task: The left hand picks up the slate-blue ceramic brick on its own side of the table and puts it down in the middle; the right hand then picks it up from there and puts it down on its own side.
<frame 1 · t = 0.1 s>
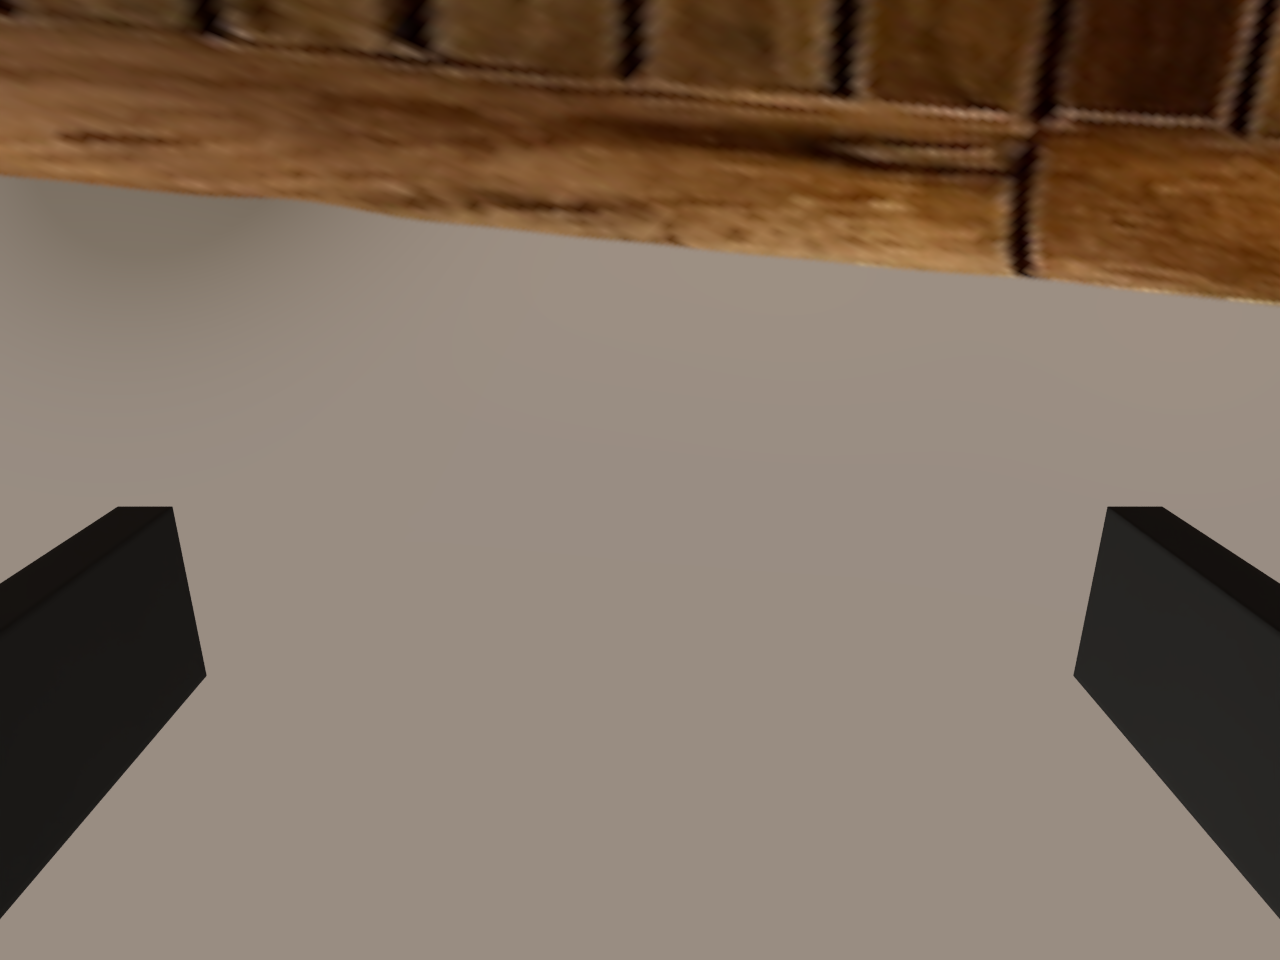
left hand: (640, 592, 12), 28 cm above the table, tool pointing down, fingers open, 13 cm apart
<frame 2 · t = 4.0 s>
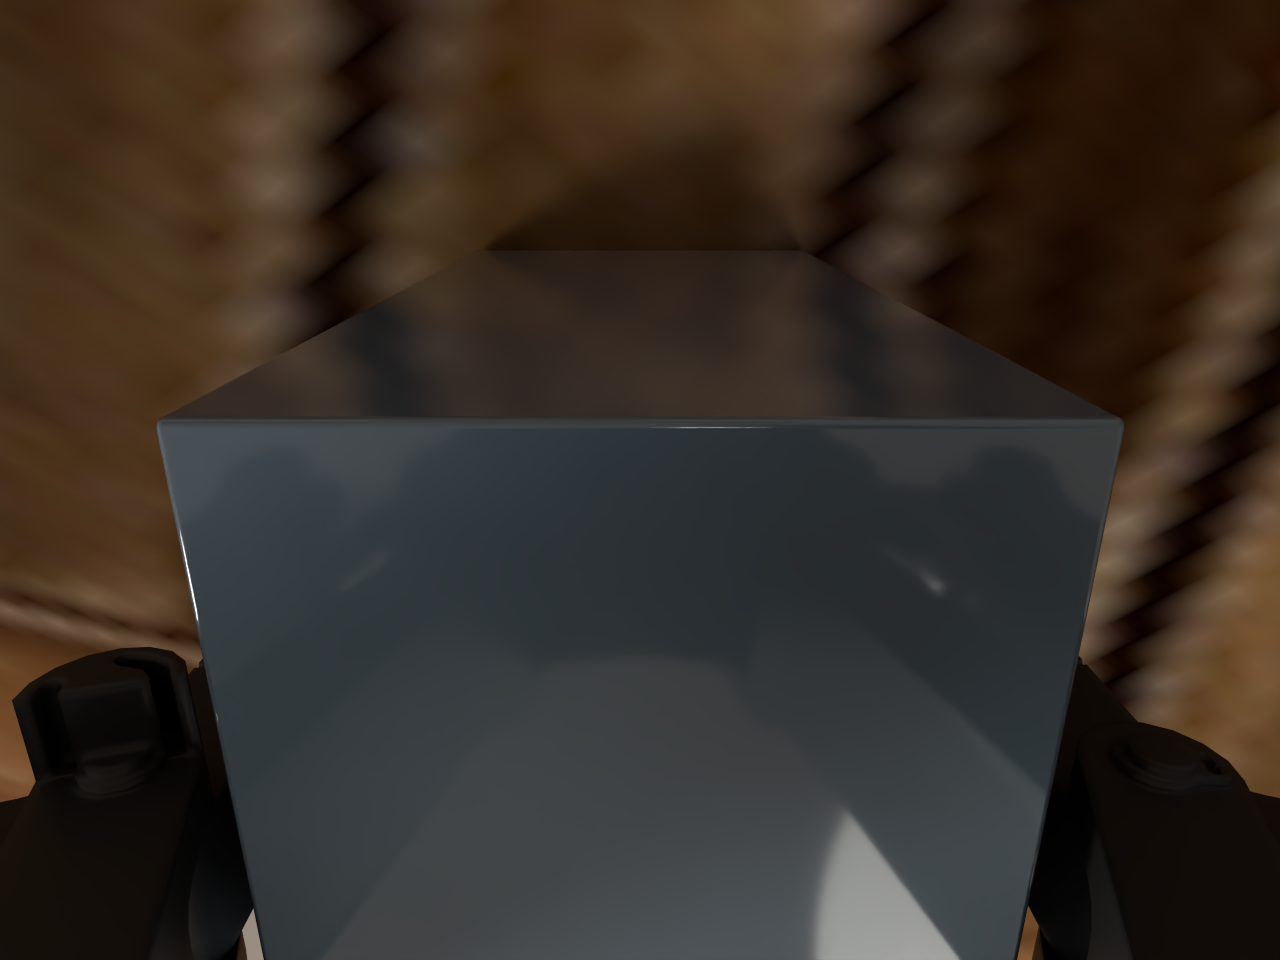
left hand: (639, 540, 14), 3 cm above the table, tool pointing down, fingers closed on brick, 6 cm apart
brick: (640, 481, 17), on the table, touching left hand
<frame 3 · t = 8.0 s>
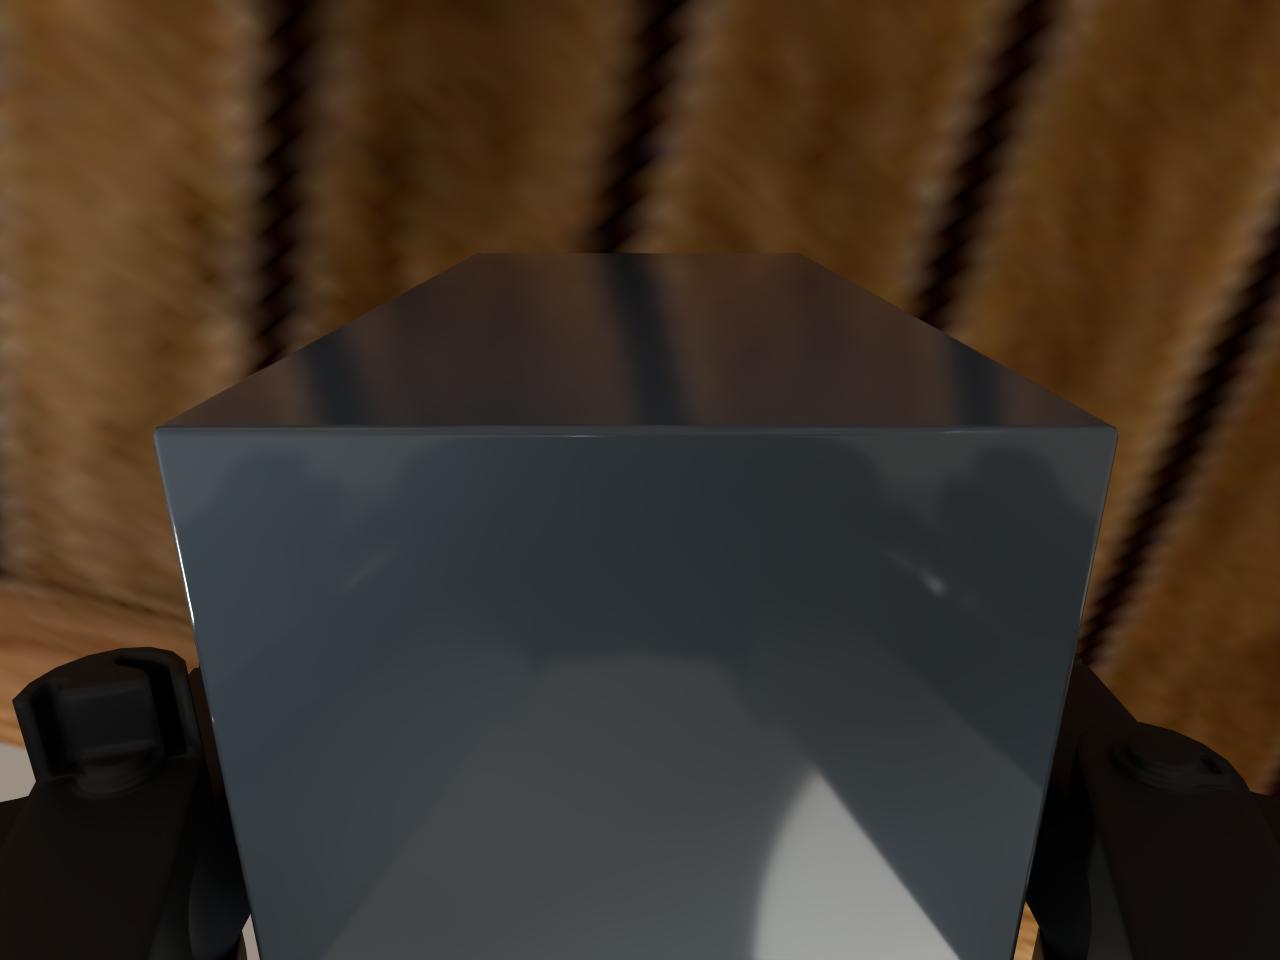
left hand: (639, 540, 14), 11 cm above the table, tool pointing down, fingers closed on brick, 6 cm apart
brick: (638, 484, 17), point 8 cm above the table, touching left hand
when the left hand's fingers open (4 cm above the table, at t = 12.1 s): brick drops 1 cm, on the table.
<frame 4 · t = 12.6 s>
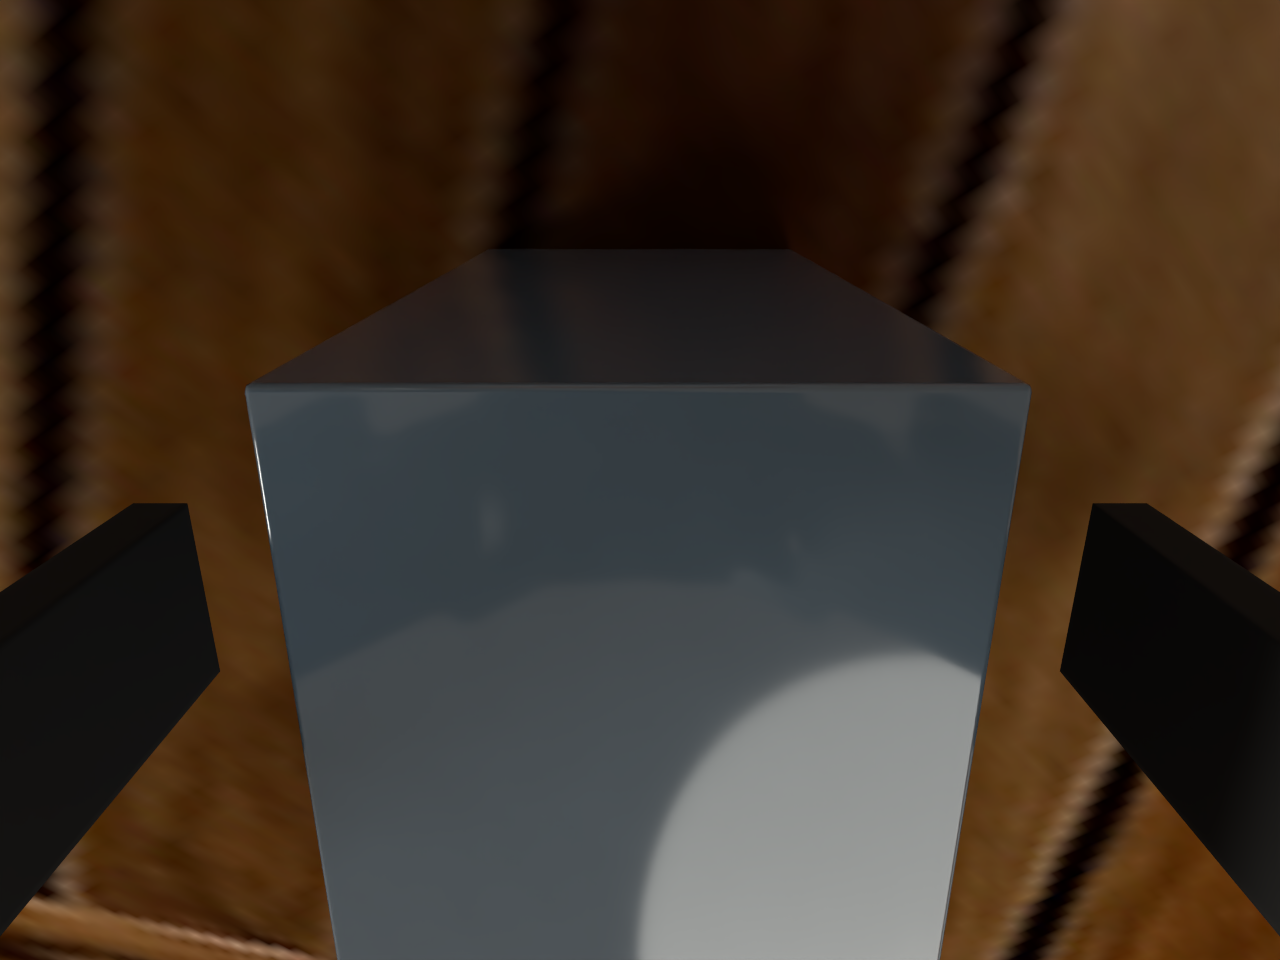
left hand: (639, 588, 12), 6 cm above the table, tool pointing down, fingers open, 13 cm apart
brick: (639, 465, 18), on the table
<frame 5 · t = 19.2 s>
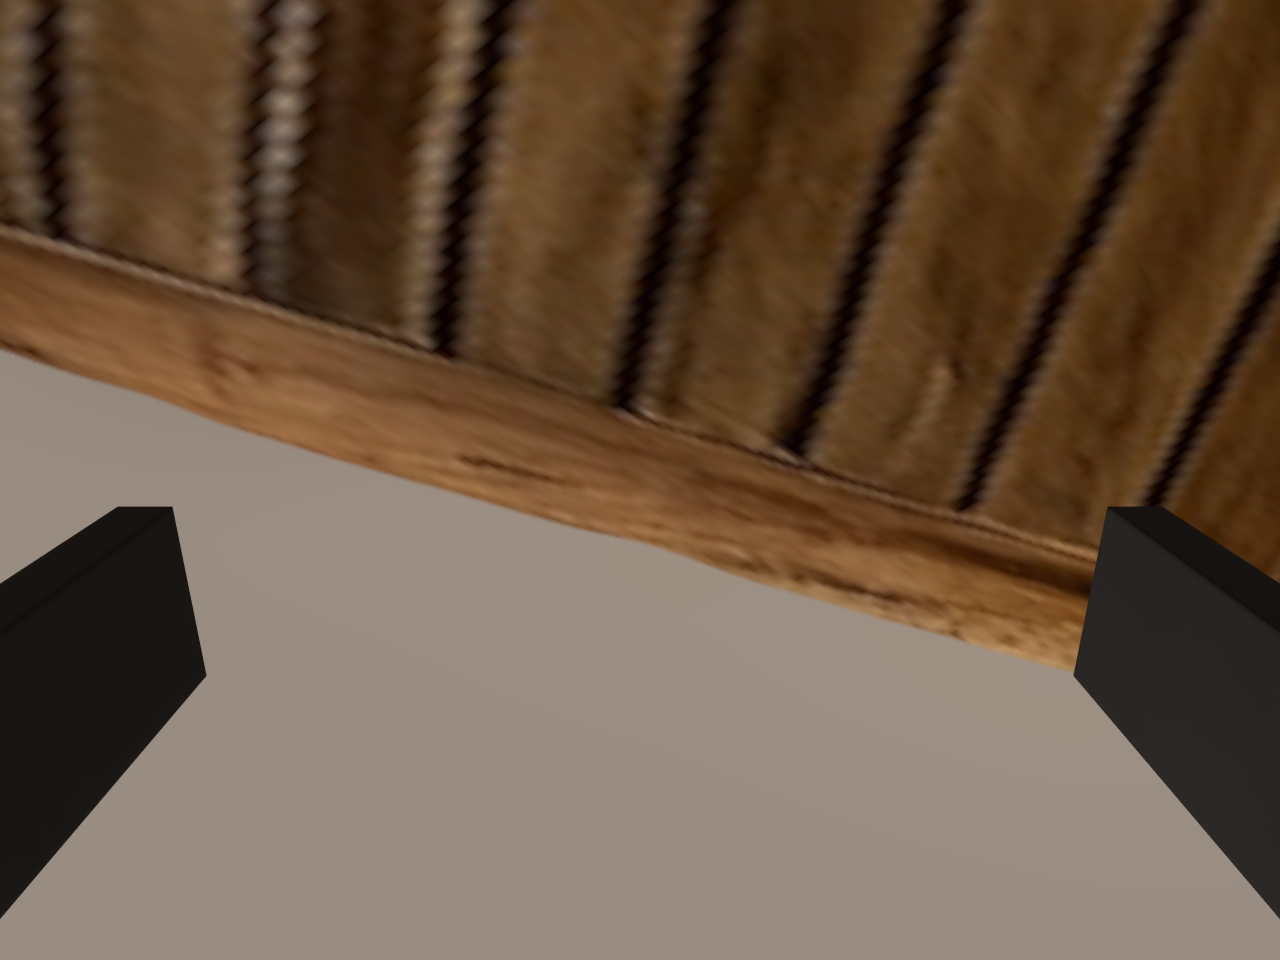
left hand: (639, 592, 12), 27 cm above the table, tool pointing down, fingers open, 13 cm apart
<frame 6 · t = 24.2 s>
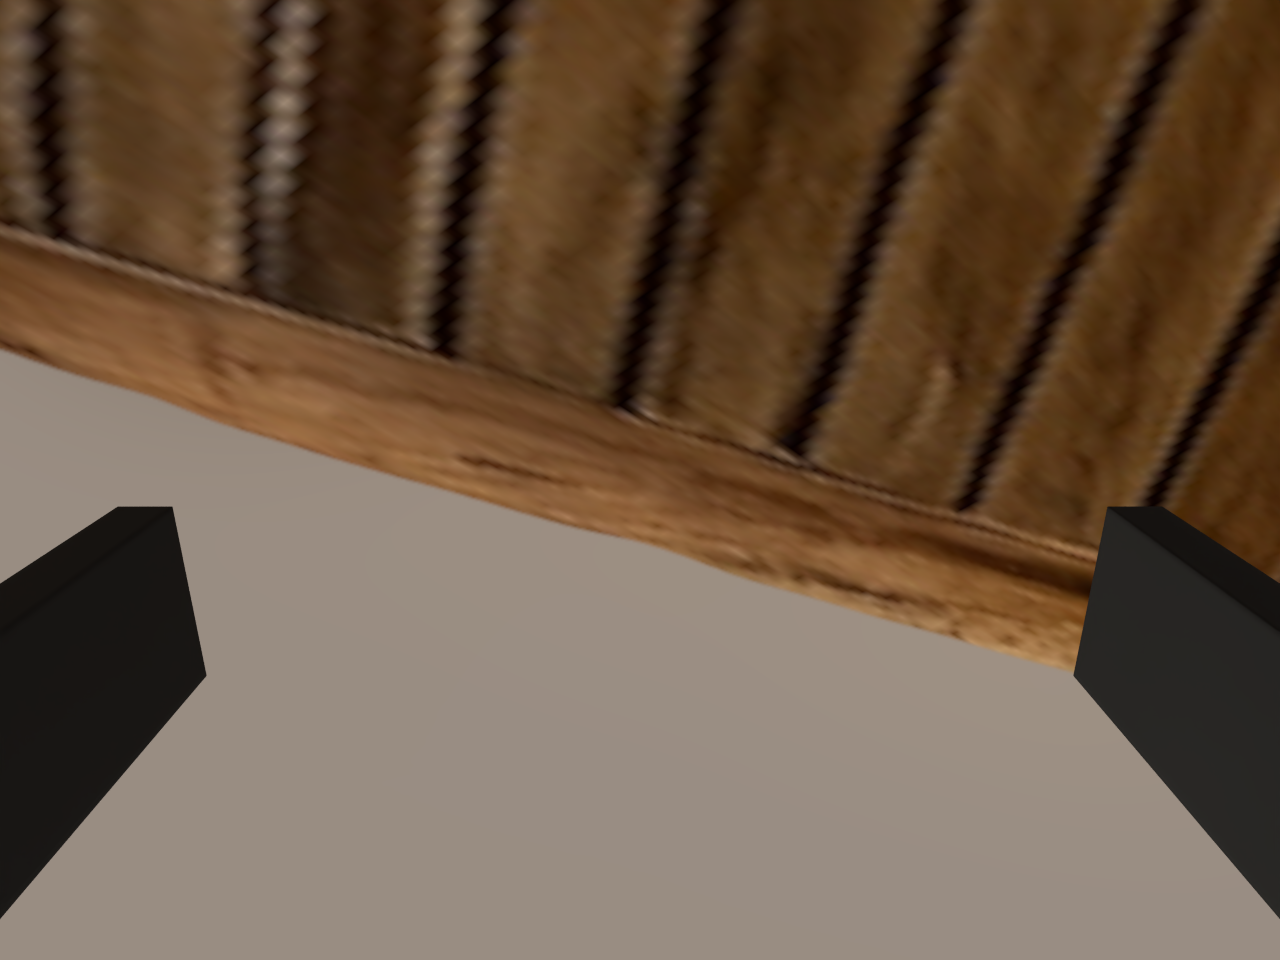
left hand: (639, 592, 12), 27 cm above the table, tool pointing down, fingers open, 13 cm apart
when the right hand's fingers open (4 cm above the table, at t = 29.6 s): brick drops 1 cm, on the table.
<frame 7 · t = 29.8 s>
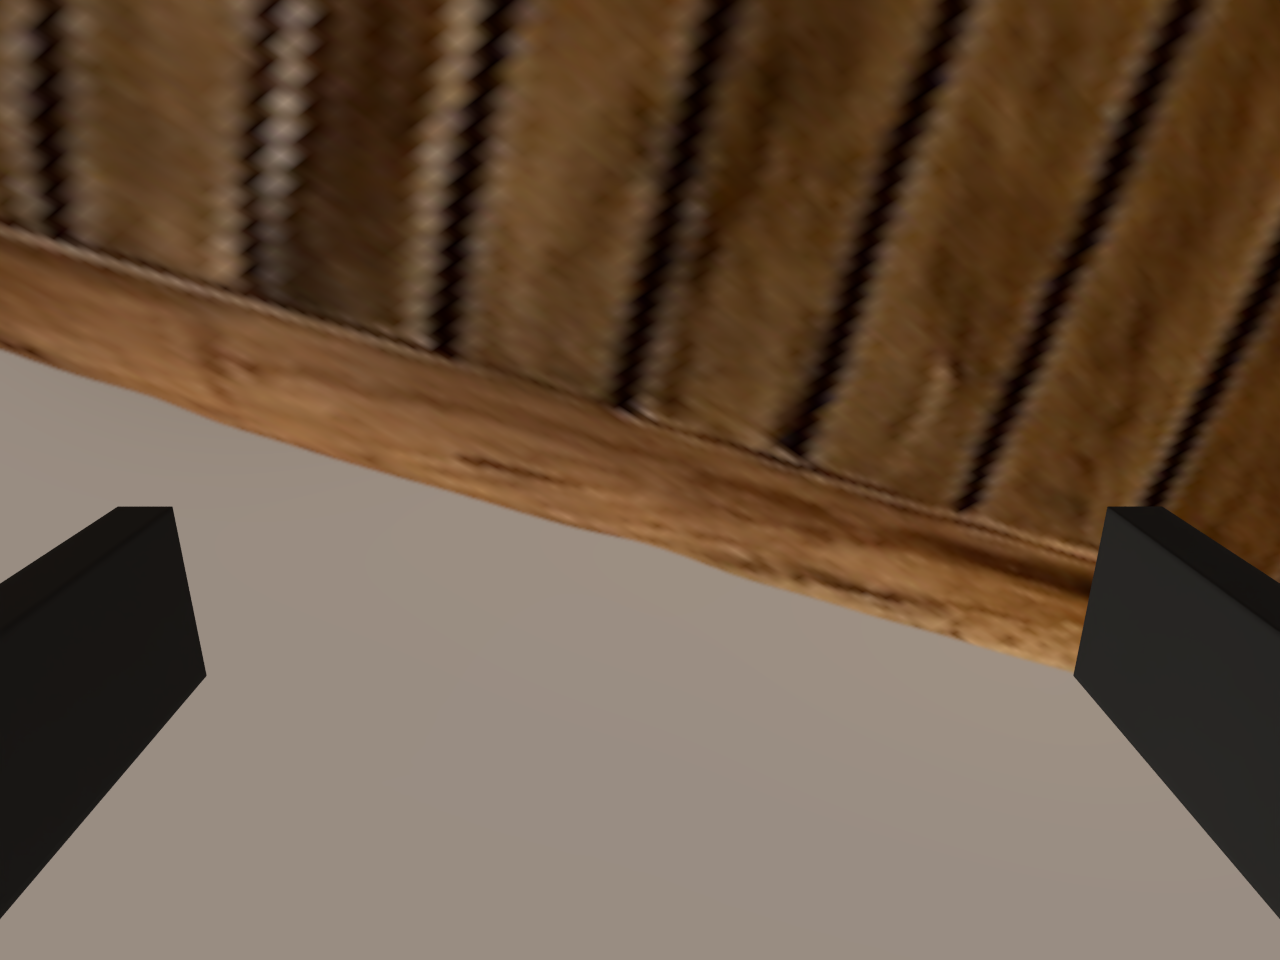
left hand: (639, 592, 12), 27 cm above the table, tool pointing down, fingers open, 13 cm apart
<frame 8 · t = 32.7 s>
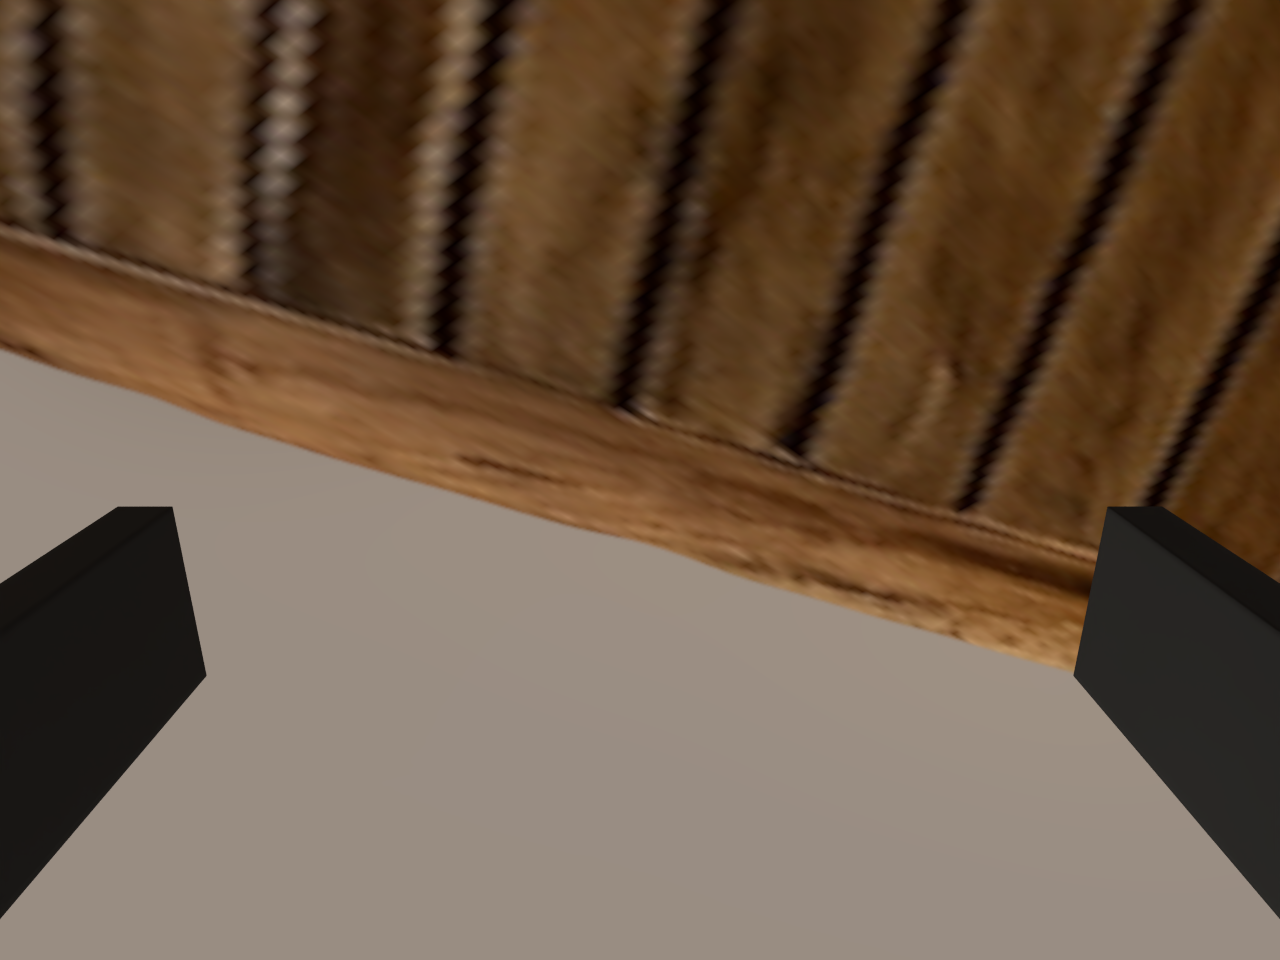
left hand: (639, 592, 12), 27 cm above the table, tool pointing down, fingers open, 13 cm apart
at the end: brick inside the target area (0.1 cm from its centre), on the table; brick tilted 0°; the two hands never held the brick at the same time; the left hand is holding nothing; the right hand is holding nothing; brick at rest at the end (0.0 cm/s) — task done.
